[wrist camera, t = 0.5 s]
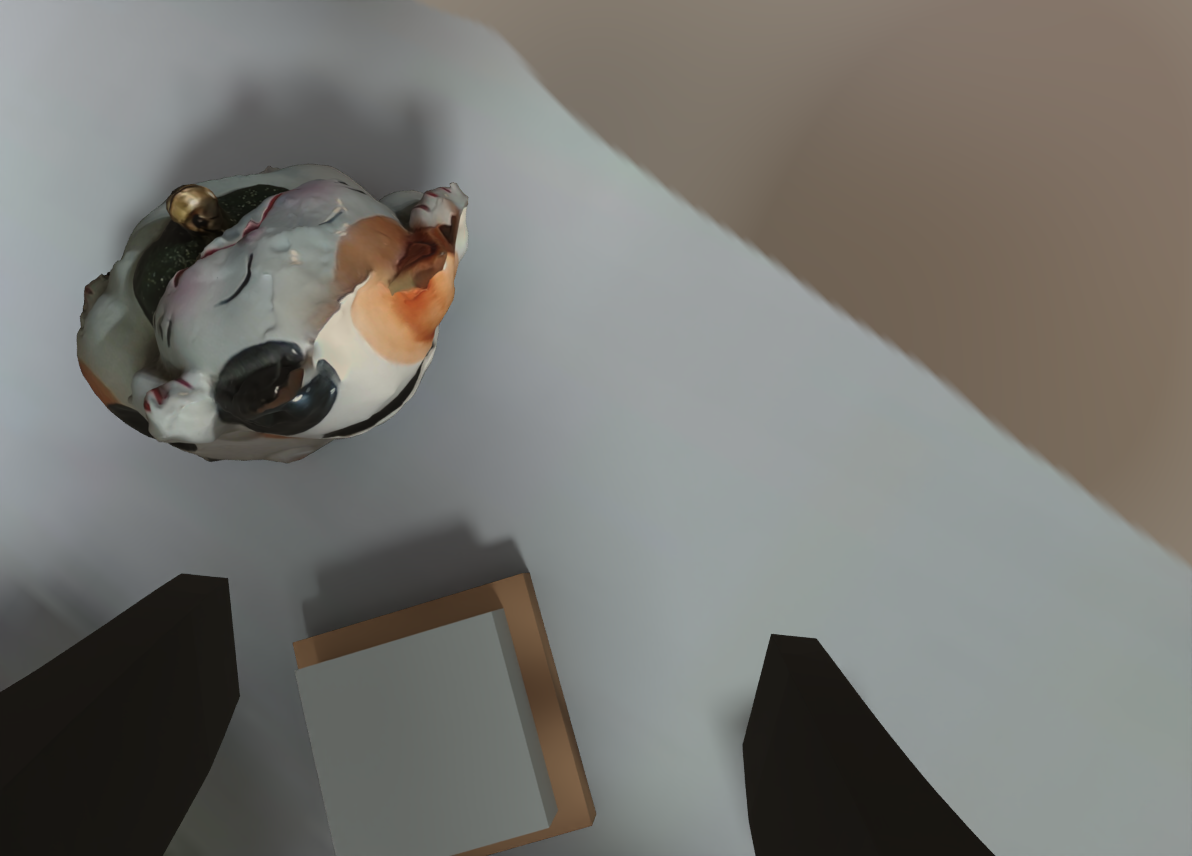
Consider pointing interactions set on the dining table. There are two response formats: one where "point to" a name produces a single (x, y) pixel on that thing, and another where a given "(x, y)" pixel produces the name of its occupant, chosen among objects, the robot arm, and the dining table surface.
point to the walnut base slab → (535, 673)
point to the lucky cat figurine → (272, 311)
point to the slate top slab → (427, 743)
